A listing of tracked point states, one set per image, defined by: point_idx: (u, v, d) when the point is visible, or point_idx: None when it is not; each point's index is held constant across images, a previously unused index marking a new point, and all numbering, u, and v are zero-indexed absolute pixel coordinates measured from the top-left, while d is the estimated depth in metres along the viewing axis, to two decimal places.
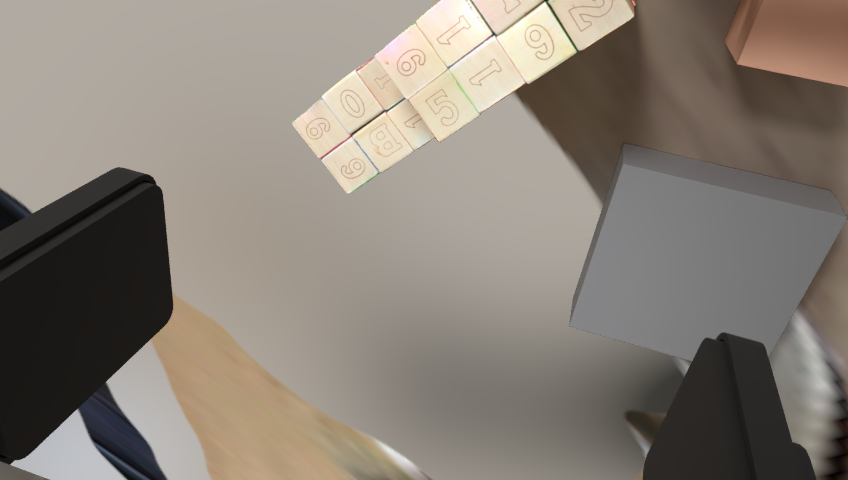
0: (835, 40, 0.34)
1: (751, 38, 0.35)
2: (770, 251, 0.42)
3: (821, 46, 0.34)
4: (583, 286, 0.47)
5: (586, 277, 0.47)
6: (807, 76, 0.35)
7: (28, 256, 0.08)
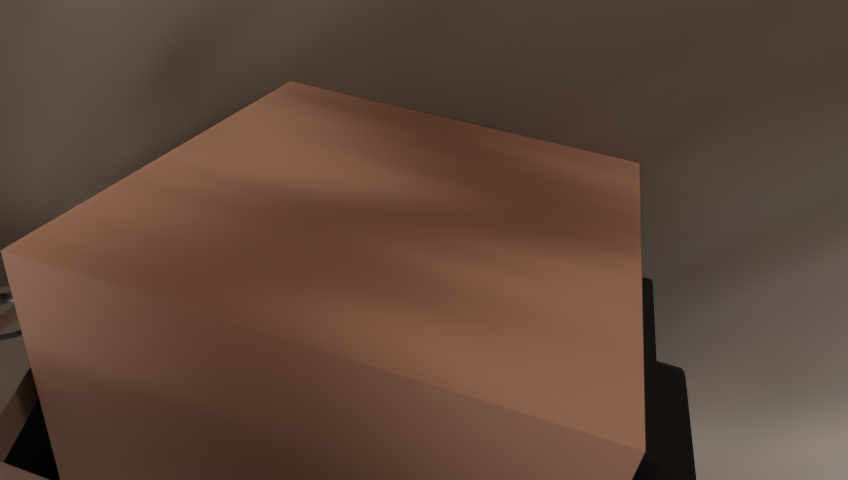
0: None
1: (141, 307, 0.06)
2: None
3: None
4: None
5: None
6: None
7: None
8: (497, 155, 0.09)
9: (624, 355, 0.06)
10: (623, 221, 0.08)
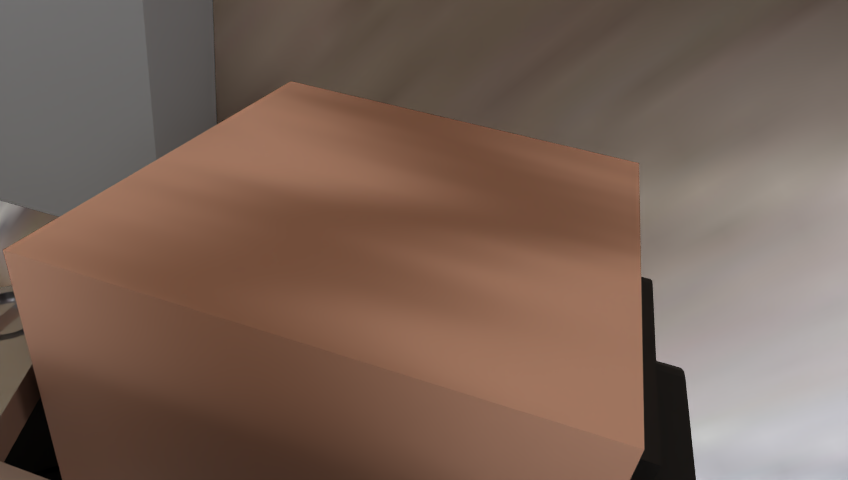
0: None
1: (143, 307, 0.06)
2: (69, 147, 0.23)
3: None
4: None
5: None
6: None
7: None
8: (497, 155, 0.09)
9: (623, 354, 0.06)
10: (622, 221, 0.08)
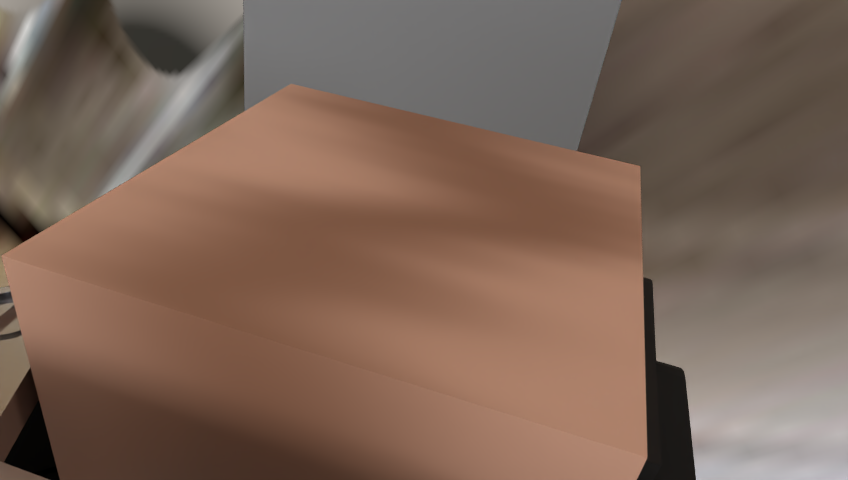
0: None
1: (143, 312, 0.06)
2: None
3: None
4: None
5: None
6: None
7: None
8: (498, 158, 0.09)
9: (626, 360, 0.06)
10: (624, 225, 0.08)
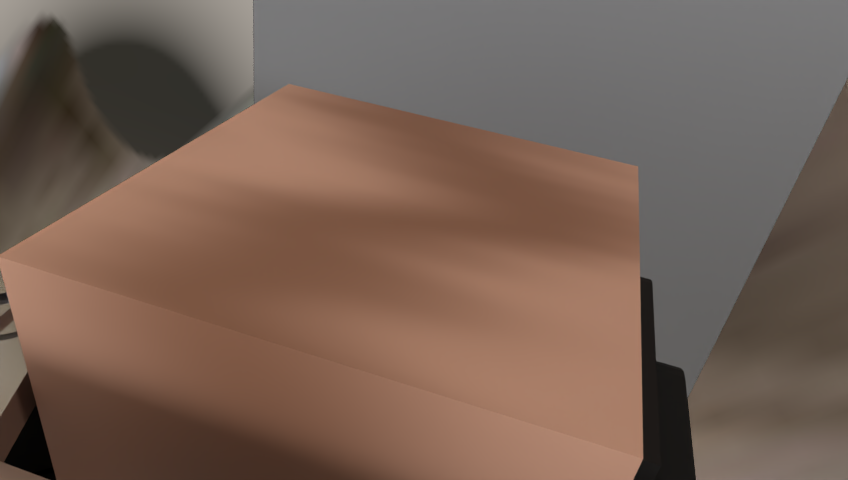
0: None
1: (138, 313, 0.06)
2: None
3: None
4: None
5: None
6: None
7: None
8: (496, 159, 0.09)
9: (622, 361, 0.06)
10: (622, 225, 0.08)
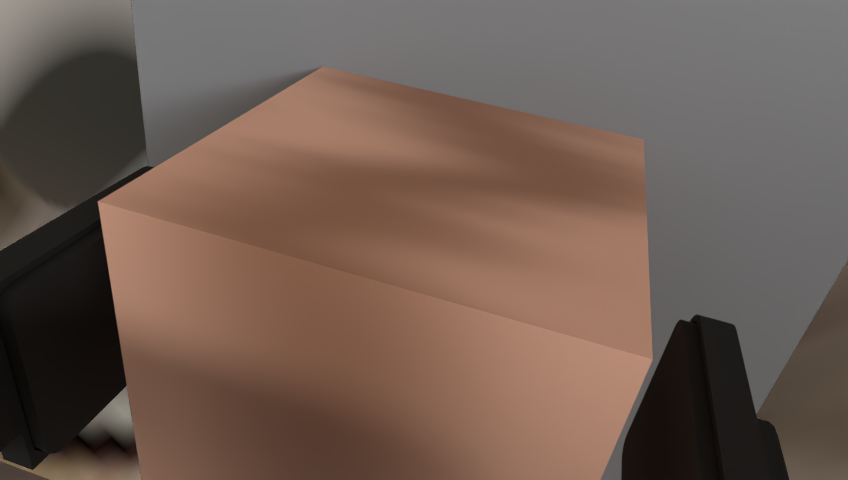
0: None
1: (220, 249, 0.07)
2: None
3: (247, 471, 0.09)
4: None
5: None
6: (140, 433, 0.09)
7: (66, 253, 0.09)
8: (515, 131, 0.10)
9: (633, 290, 0.07)
10: (630, 186, 0.09)
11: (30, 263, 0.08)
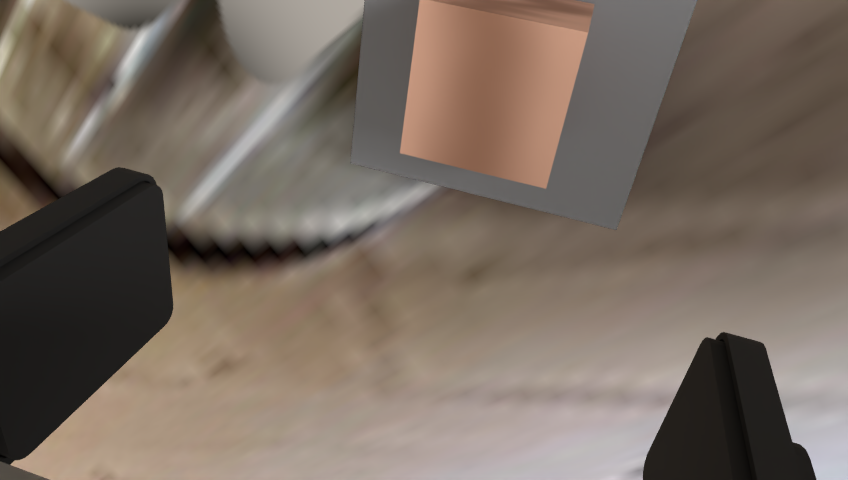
0: (458, 123, 0.24)
1: (459, 11, 0.22)
2: (560, 153, 0.30)
3: (450, 108, 0.24)
4: None
5: None
6: (409, 98, 0.24)
7: (28, 256, 0.08)
8: None
9: (584, 25, 0.22)
10: (586, 11, 0.25)
11: None
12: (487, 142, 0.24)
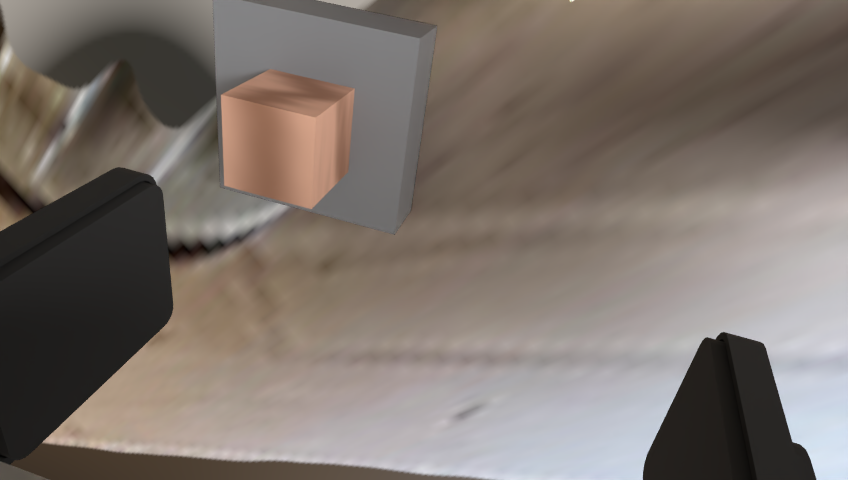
0: (255, 168, 0.39)
1: (244, 102, 0.37)
2: (351, 183, 0.44)
3: (248, 159, 0.38)
4: (267, 7, 0.40)
5: (279, 9, 0.40)
6: (224, 152, 0.39)
7: (28, 256, 0.08)
8: (317, 85, 0.40)
9: (320, 111, 0.37)
10: (338, 97, 0.39)
11: None
12: (273, 180, 0.39)
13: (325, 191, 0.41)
